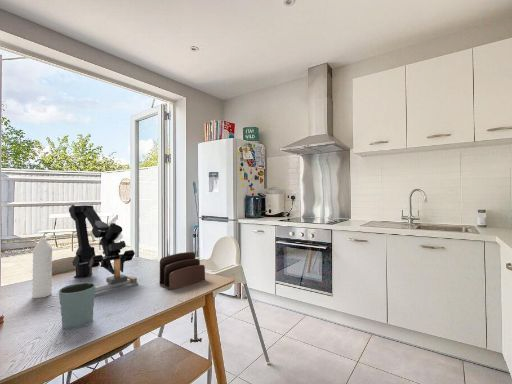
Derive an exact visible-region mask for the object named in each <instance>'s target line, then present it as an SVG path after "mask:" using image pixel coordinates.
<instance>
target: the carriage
mask: <svg viewBox="0 0 512 384" xmlns="http://www.w3.org/2000/svg"><path fill="white" fill-rule="evenodd" d="M113 269H114V274H113V276H108V277H106V284H108V283H109V284H111V285H112V284H117V283H121V282H125V281H127V277H128V276H127V275H124V274H121V271H120V259H115V260H113Z"/></svg>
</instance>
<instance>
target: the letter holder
mask: <svg viewBox="0 0 512 384" xmlns="http://www.w3.org/2000/svg"><path fill="white" fill-rule="evenodd" d="M202 280H203V281H206V266H205V264H201V260H200V259H199V258H196V253H195V252H194V251H188V252H187V251H185V252H180V253H175V254H174V253H173V254H170V255H166V256H163V257H161V258H160V259H159V286H160V287H162V288H164V289H166V290H168V291H171V290H176V289H179V288H182V286H183V287H185V286H188V285H189V286H190V285H192V283H193V284H196V283H199V281H200V282H202ZM195 282H196V283H195Z"/></svg>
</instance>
